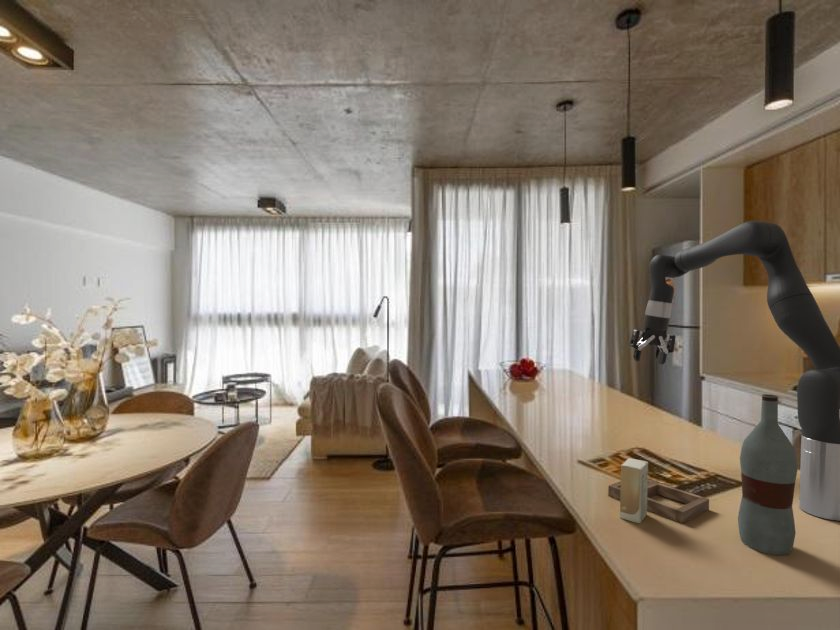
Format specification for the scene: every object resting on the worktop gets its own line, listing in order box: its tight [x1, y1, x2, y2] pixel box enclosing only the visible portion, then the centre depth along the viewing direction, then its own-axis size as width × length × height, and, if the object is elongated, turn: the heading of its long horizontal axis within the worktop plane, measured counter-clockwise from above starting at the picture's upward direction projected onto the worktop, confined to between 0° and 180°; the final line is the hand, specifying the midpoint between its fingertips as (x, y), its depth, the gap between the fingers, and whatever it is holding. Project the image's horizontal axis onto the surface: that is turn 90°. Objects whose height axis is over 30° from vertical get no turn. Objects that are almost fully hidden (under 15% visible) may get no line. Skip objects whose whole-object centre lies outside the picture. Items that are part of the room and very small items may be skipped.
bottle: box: [737, 393, 799, 556], centre depth 95 cm, size 9×9×30 cm
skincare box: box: [619, 457, 649, 524], centre depth 107 cm, size 6×4×12 cm
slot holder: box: [607, 479, 710, 524], centre depth 115 cm, size 18×12×2 cm
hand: (648, 362), depth 162 cm, fingers open, 8 cm apart
